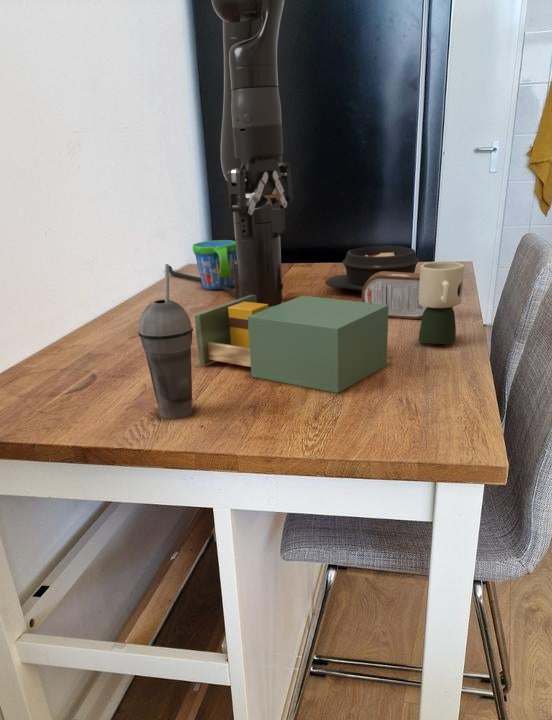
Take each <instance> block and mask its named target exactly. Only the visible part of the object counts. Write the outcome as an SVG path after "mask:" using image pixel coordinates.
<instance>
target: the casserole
mask: <svg viewBox="0 0 552 720" xmlns="http://www.w3.org/2000/svg"><path fill="white" fill-rule="evenodd" d="M418 263H420V259H419V258H418V257H417V253H416V250H415V249H414V248H411V247H408V246H400V245H369V246H361V247H357V248H353V249H349V250H348V251H347V252H346V255H345V258H344V259H343V260H342V264H343V265H344V268H345V272H346V274H338V275H333V276H331V277H328V278H327V279H326V280H325V282H324V284H325V285H326V286H328V287H330V288H335V289H347V290H352V291H354V292H357V293H361V294H362V289H363V287H364V285H365V283H366V282H367V281H368V279H369V278H370V277H371V276H372V275H374V274H375V273H378V272H382V271H387V272H403V273H416V267H417V264H418Z"/></svg>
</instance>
